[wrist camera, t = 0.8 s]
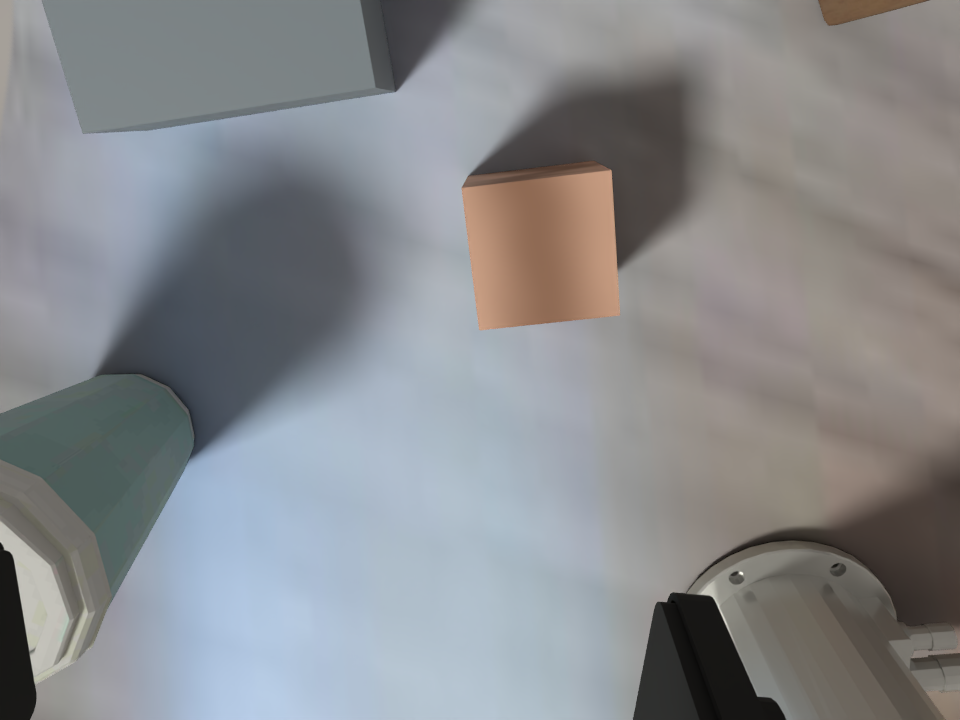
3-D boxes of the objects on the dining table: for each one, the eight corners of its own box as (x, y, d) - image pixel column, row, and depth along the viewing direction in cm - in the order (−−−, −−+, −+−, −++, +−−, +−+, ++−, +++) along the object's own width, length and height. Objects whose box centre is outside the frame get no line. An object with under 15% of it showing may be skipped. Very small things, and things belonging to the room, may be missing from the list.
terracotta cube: (593, 160, 34) (611, 170, 28) (601, 283, 36) (619, 315, 30) (468, 175, 34) (461, 188, 29) (482, 296, 36) (479, 330, 31)
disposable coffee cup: (271, 423, 39) (137, 601, 25) (162, 547, 42) (-14, 772, 27) (106, 295, 37) (-144, 409, 23) (2, 435, 40) (-277, 614, 25)
